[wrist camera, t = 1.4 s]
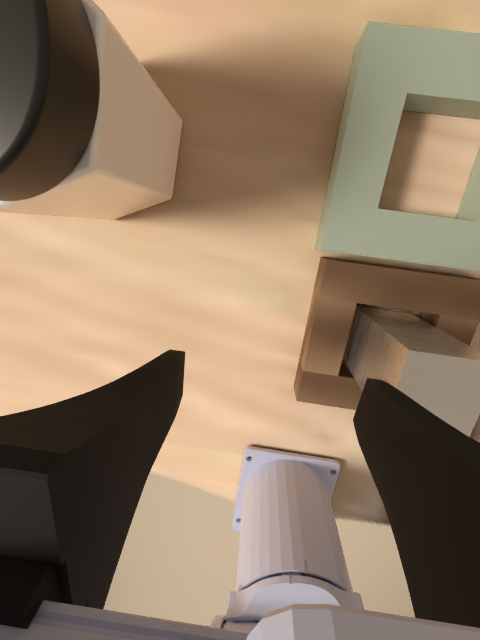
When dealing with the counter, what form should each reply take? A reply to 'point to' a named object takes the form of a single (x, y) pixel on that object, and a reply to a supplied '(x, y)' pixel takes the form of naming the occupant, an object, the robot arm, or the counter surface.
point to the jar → (79, 116)
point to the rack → (378, 140)
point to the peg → (416, 363)
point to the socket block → (379, 290)
